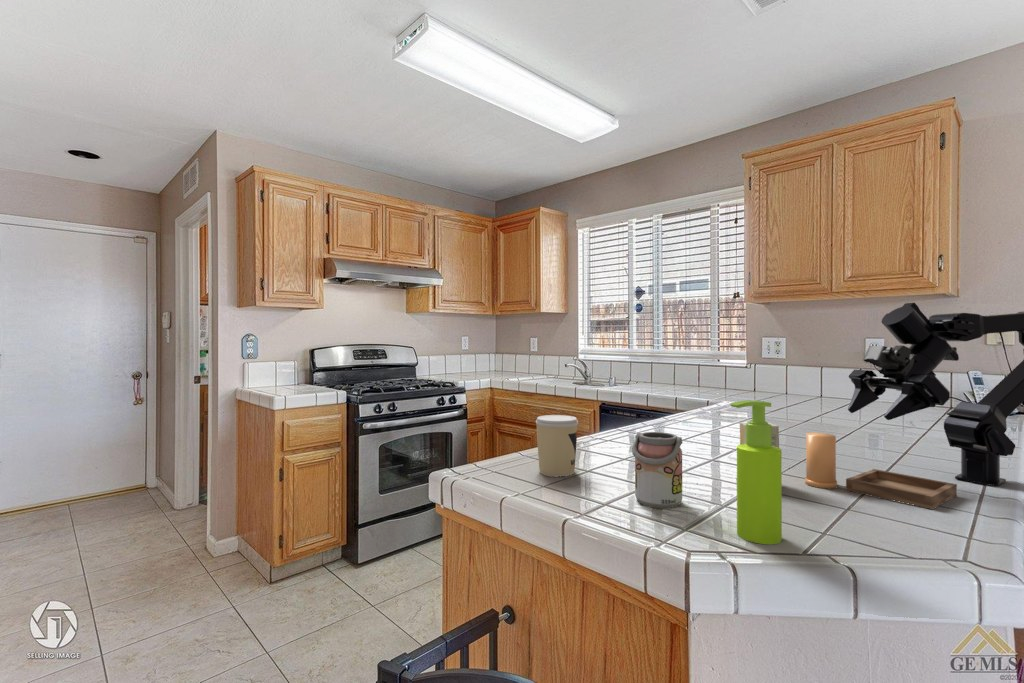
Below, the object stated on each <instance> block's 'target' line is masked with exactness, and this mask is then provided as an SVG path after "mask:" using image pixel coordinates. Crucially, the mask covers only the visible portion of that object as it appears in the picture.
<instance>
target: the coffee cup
mask: <svg viewBox="0 0 1024 683" xmlns="http://www.w3.org/2000/svg"><path fill="white" fill-rule="evenodd" d="M535 424H536V440H537V453H538V457H537V458H538V470H539V473H540V474H541V475H543V476H546V475H547V476H546V477H552V476H556V477H555V478H561V476H565V477H569V475H570V476H572V474H573V475H574V474H575V469H576V457H577V456H576V455H577V439H578V436H577V435H578V425H579V420H578V419H577V417H575V416H573V415H564V414H550V415H549V414H546V415H540V416H539V415H538V416H537V418H536V420H535ZM558 476H560V477H558Z"/></svg>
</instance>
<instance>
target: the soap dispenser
mask: <svg viewBox="0 0 1024 683" xmlns="http://www.w3.org/2000/svg"><path fill="white" fill-rule="evenodd" d="M729 405H730V406H731V407H733V408H737V409H741V408H745V407H746V408H747V407H752V408H751V414H752V415H751V417H752V419H751V420H749V421H748V422H745V423H746V444H740V443H739V444H737V445H736V534H737V536H738V537H740V539H743V540H745V541H748V542H749V543H755V544H760V545H776V544H777V545H778V544H780V543H781V542H782V540H783V539H782V538H783V535H782V534H783V533H782V531H783V530H782V526H783V524H782V516H783V515H782V514H783V513H782V508H783V507H782V506H783V505H782V504H783V503H782V502H783V501H782V499H783V498H782V495H783V494H782V493H783V492H782V488H783V487H782V482H783V481H782V479H783V478H782V476H783V475H782V472H783V471H782V449H781V448H780V447H779V448H777V447H774V446H772V426H771V424H768V423H769V422H768V421H766V407H767V408H771V407H772V402H768V401H762V400H750V399H747V400H746V399H745V400H738V401H734V402H731V403H730V404H729Z"/></svg>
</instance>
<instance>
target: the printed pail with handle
mask: <svg viewBox="0 0 1024 683" xmlns="http://www.w3.org/2000/svg"><path fill="white" fill-rule="evenodd" d="M634 437H635V439H634V441H633V444H632V447H631V452H632V454H631V455H632V456H634V495H635V498H636V500H637V501H638V503H639V504H641V505H643V506H645V507H649V508H653V509H654V508H655V509H674V508H676V507H678V506H680V505H681V503H682V501H683V450H682V448H681V446H682V444H683V439H682V438H683V437H681V436H677V435H676V434H673V433H671V432H670V433H669V432H661V431H648V432H647V431H646V432H637V433H636V434H635V436H634Z"/></svg>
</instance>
